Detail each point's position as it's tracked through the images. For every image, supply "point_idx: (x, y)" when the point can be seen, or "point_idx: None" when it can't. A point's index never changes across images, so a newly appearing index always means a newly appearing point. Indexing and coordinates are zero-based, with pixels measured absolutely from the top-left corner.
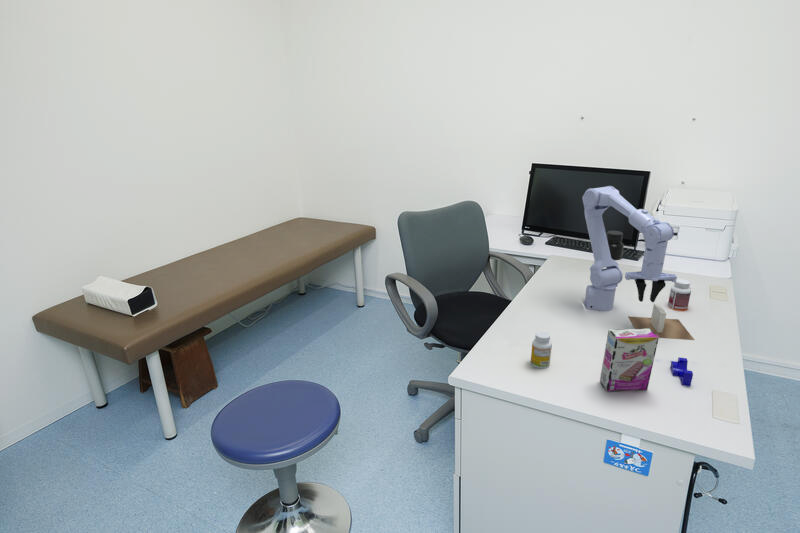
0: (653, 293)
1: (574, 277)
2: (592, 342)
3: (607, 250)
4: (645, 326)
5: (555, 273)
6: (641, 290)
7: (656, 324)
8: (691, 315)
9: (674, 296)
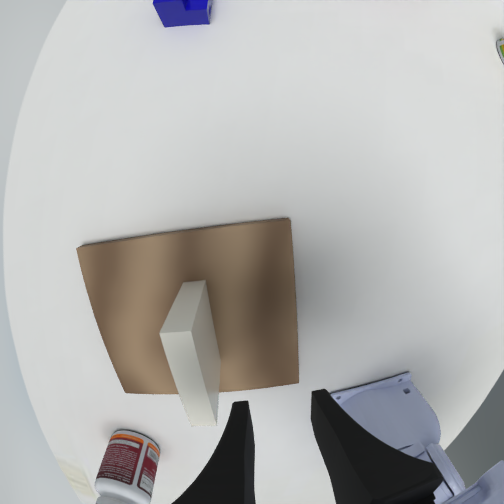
0: (248, 457)
1: None
2: (444, 157)
3: None
4: (246, 322)
5: None
6: (371, 445)
7: (206, 313)
8: (99, 419)
9: (138, 475)
